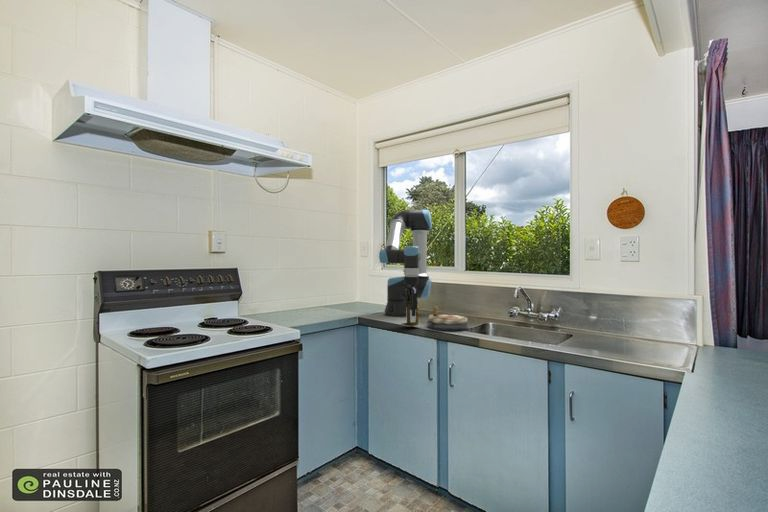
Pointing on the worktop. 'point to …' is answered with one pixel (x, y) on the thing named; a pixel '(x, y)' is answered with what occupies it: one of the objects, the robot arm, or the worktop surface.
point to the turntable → (446, 318)
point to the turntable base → (447, 326)
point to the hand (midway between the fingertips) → (410, 320)
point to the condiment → (409, 316)
